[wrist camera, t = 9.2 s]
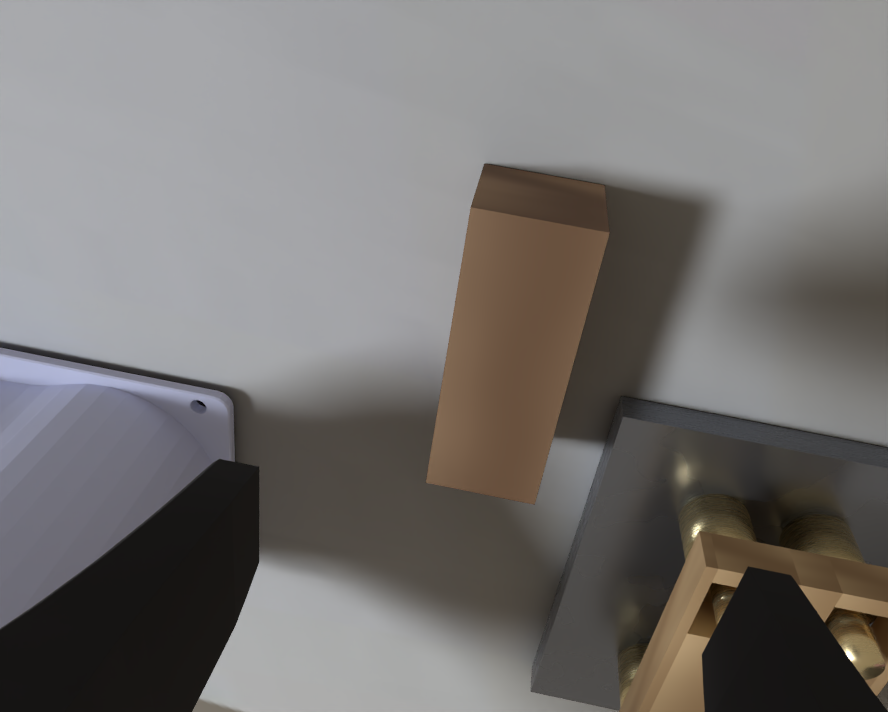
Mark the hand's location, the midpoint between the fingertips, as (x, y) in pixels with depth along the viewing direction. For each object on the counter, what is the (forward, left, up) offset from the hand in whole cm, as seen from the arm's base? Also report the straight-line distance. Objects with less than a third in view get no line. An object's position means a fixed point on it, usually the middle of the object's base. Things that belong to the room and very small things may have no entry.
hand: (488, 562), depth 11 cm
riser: (0, -2, -10) cm, 11 cm away
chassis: (+8, -10, -10) cm, 17 cm away
